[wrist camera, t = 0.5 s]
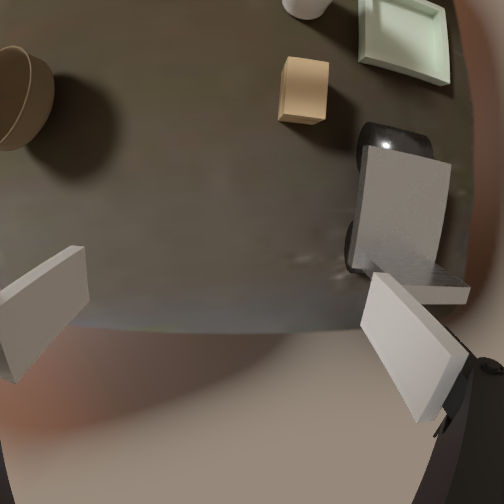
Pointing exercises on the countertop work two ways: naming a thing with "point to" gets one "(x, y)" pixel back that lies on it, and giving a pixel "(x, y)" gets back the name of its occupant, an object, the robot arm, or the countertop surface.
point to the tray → (405, 38)
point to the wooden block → (303, 91)
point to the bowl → (23, 97)
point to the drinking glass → (306, 8)
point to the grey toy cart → (401, 214)
